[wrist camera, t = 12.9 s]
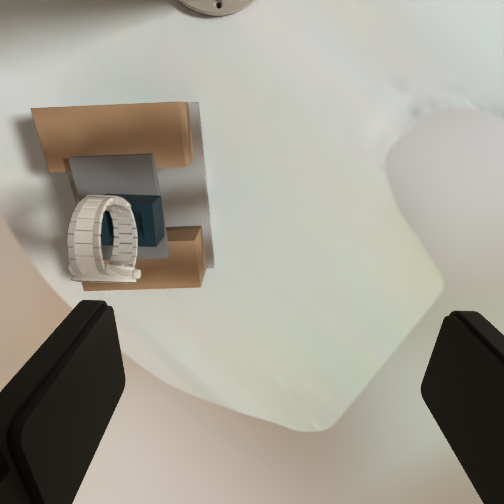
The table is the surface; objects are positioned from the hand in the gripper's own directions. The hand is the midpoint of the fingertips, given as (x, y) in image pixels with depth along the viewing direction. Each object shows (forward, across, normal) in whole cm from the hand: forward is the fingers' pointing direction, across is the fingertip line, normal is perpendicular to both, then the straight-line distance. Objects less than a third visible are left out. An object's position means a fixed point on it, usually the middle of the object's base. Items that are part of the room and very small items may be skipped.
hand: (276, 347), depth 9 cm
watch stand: (+32, +14, +4) cm, 35 cm away
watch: (+25, +13, +4) cm, 28 cm away
